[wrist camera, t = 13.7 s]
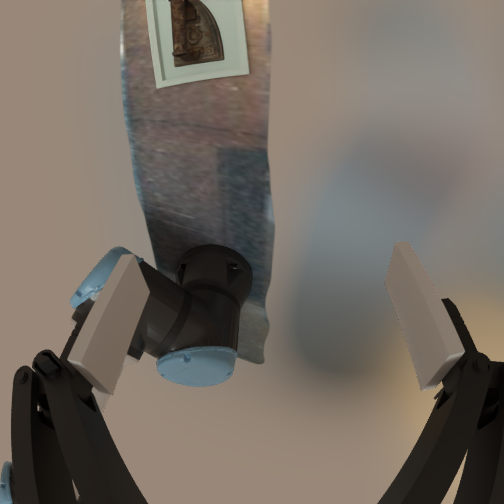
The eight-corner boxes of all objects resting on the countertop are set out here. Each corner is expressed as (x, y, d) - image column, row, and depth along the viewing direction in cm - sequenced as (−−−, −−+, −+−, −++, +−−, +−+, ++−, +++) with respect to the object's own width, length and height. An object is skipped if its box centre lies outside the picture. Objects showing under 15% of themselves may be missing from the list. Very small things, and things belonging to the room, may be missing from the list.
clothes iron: (177, 72, 33) (143, 58, 24) (177, 10, 29) (146, -14, 20) (225, 64, 32) (201, 45, 23) (222, 0, 28) (201, -30, 19)
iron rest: (250, 73, 34) (249, 74, 32) (162, 87, 35) (156, 88, 33) (239, -27, 24) (237, -32, 22) (150, -9, 25) (144, -12, 23)
